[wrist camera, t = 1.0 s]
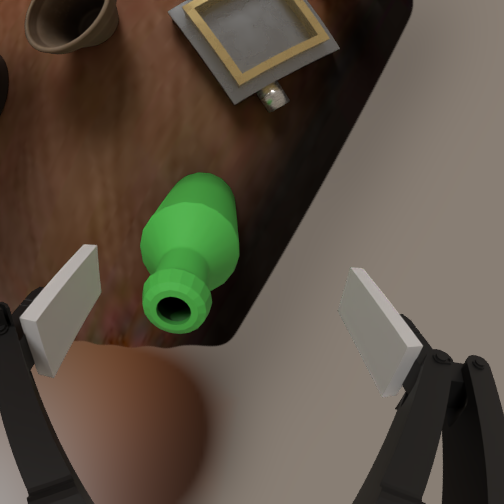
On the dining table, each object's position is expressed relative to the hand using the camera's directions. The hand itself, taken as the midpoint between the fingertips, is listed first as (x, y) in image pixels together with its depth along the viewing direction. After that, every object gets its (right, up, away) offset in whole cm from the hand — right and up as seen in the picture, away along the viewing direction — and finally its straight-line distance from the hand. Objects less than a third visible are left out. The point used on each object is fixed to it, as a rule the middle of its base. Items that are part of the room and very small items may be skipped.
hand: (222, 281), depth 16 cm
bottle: (-5, +8, +26) cm, 28 cm away
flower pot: (-19, +32, +15) cm, 40 cm away
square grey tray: (+2, +28, +18) cm, 33 cm away
